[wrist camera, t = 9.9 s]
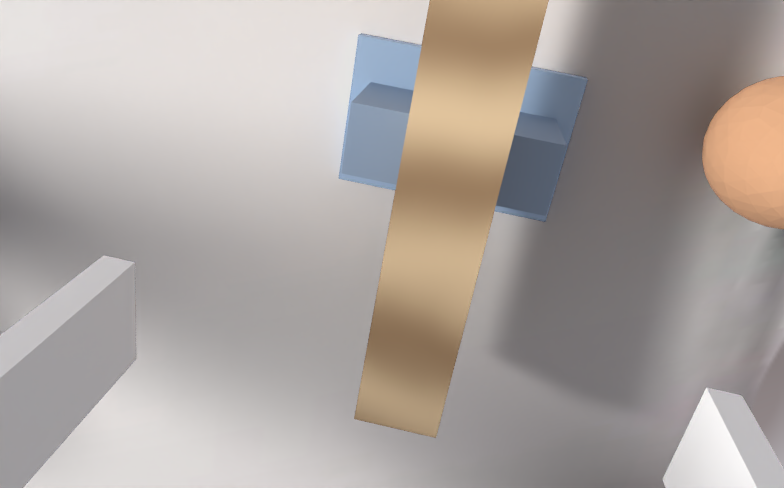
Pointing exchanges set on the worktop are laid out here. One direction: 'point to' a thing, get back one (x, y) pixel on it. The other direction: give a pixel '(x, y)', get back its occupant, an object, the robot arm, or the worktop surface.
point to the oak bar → (445, 202)
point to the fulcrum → (391, 112)
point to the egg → (749, 153)
